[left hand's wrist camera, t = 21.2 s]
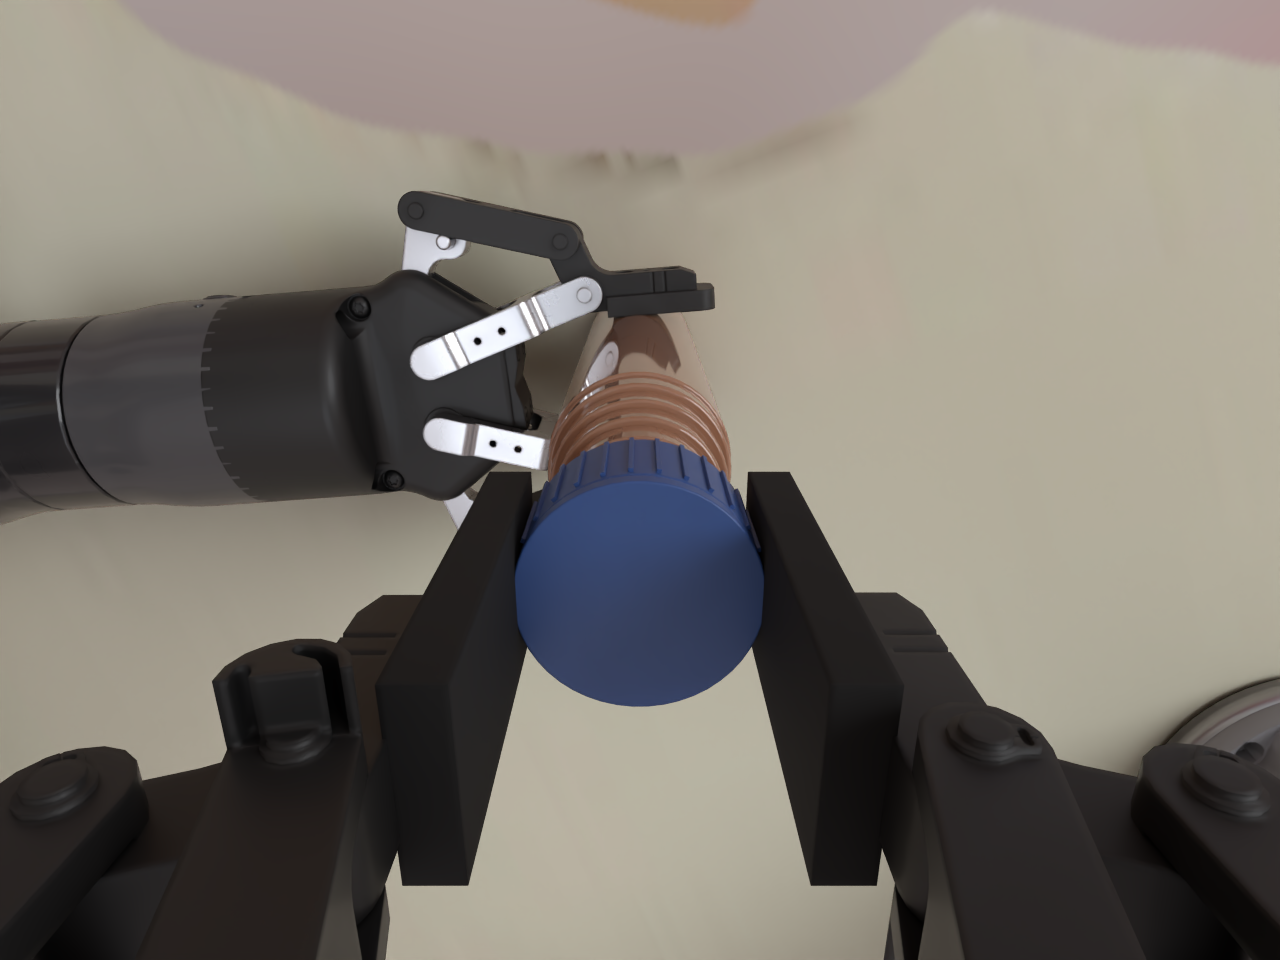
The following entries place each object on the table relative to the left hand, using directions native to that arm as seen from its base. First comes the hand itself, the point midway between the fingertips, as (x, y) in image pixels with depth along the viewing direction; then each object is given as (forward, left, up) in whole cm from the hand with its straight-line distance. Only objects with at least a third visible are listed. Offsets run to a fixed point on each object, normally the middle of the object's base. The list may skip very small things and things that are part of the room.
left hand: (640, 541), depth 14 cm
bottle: (0, 0, -21) cm, 21 cm away
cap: (0, 0, +2) cm, 2 cm away
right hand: (-3, 0, -15) cm, 15 cm away
